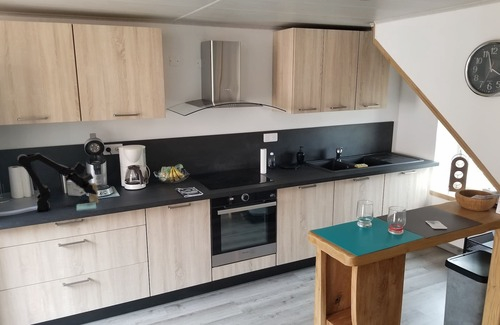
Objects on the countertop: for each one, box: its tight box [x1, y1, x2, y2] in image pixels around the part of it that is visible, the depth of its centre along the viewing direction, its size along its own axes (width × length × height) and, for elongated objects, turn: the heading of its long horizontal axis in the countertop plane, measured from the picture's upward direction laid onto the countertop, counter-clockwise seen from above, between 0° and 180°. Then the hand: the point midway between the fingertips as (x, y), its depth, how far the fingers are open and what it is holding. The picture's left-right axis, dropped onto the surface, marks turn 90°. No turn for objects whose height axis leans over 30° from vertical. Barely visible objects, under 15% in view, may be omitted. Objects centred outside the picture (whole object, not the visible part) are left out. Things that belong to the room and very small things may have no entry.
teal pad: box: [76, 202, 97, 212], centre depth 258 cm, size 12×12×1 cm
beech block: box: [88, 182, 99, 204], centre depth 268 cm, size 5×5×13 cm
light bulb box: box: [66, 180, 87, 197], centre depth 285 cm, size 11×7×11 cm, turn 75°
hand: (95, 192), depth 269 cm, fingers open, 9 cm apart
